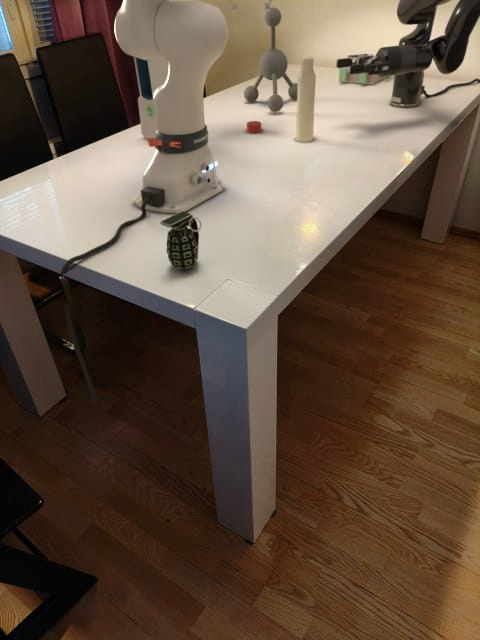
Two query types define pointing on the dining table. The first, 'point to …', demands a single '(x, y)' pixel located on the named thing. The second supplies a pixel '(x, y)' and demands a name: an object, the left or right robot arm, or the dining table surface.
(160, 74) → the electronic device
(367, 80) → the decorative block
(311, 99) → the bottle
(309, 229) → the dining table surface
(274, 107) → the molecular model
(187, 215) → the grenade
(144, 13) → the left robot arm
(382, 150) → the dining table surface
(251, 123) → the cap
